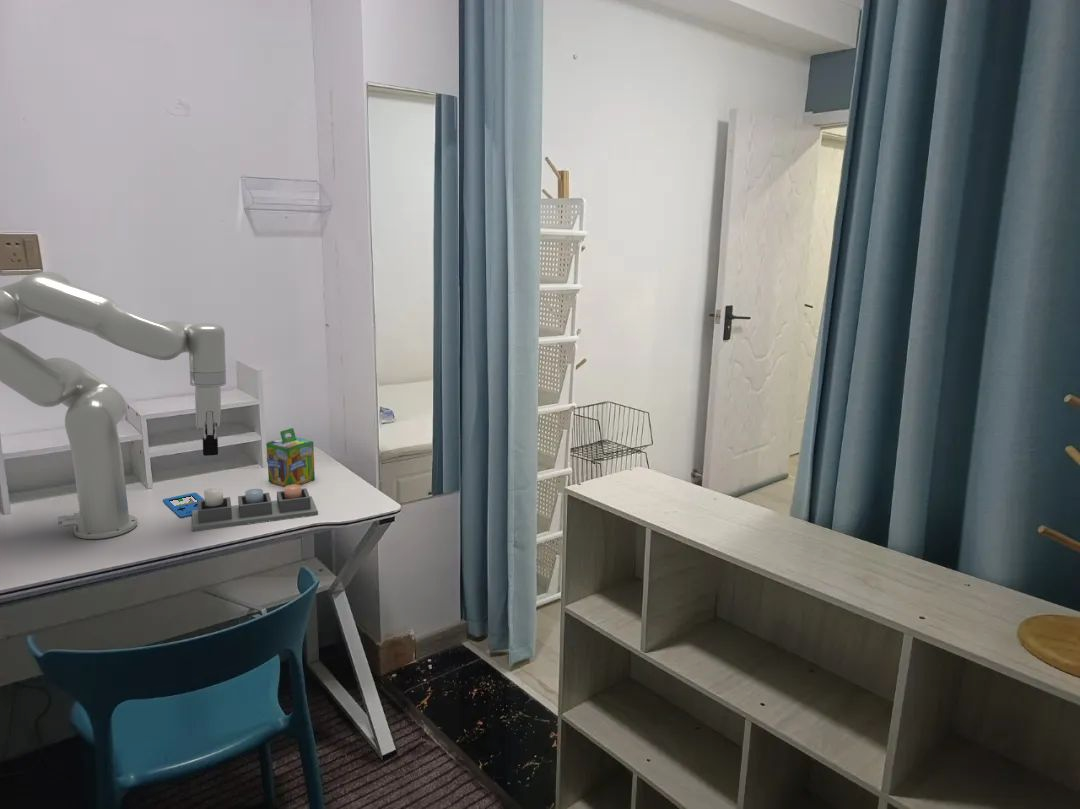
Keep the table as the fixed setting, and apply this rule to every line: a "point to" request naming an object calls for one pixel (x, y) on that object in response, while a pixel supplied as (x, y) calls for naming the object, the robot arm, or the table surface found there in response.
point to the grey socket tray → (252, 511)
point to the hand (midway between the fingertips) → (210, 454)
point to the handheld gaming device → (185, 508)
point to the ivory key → (213, 496)
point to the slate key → (254, 496)
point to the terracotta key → (293, 491)
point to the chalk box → (290, 460)
